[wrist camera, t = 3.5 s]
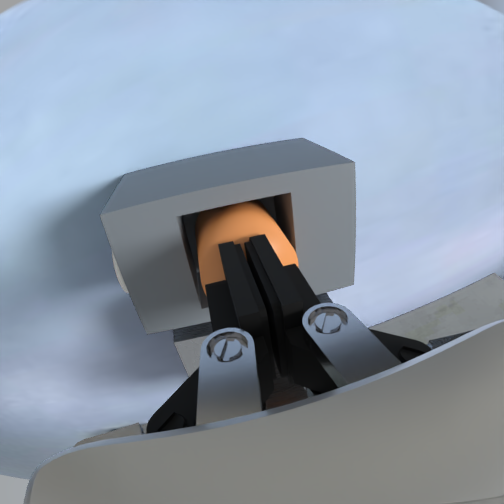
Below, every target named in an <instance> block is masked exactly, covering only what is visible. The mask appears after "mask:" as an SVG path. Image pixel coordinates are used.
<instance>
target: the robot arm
mask: <svg viewBox="0 0 504 504" xmlns="http://www.w3.org/2000/svg"><path fill="white" fill-rule="evenodd" d="M244 245H245V251H246V257H247V260H246V257H245V255H244V252H243V250H242V247H241V245H240V244H236V245H234V242H233V241H231V242H226V243H222V244H218V247H219V252H220V256H221V261H222V265H223V270H224V274H225V279H226V280H223V281H218V282H214V283H210V284H205V289H206V295H207V301H208V307H209V313H210V319H211V324H212V330H213V333H212V334H210V335H209V336H208V337H207V338H206V339H205V340H204V342H203V343H202V346H201V351H200V365H199V367H198V368H197V369H196V371H195V372H194V373H193V374H192V375H191V376H190V377H189V378H188V379H187V380H186V381H185V382H184V383H183V384H182V385H181V386H180V387H179V388H178V390H177V391H176V392H175V393H174V394H173V395H172V396H171V397H170V398H169V399H168V400H167V401H166V402H165V403H164V404H163V405H162V406H161V407H160V408H159V409H158V410H157V411H156V412H155V413H154V414H153V416H152V417H151V418H150V420H149V421H148V423H147V424H144V425H140V424H139V423H136V424H133V425H130V426H127V427H124V428H120V429H117V430H114V431H111V432H108V433H104V434H101V435H98V436H94V437H91V438H87V439H84V440H82V441H80V442H78V443H77V444H76V445H75V446H74V447H72V448H69V449H67V450H64V451H62V452H60V453H57V454H55V455H53V456H51V457H50V458H48V459H46V460H45V461H43V462H42V463H41V464H40V465H39V466H38V467H37V468H36V469H35V471H34V472H33V474H32V476H31V478H30V480H29V483H28V486H27V490H26V495H25V499H24V504H504V319H502V320H498V321H495V322H492V323H490V324H487V325H485V326H482V327H480V328H478V329H476V330H471V331H467V332H463V333H459V334H455V335H450V336H446V337H442V338H437V339H433V340H429V342H428V344H425V343H423V342H420V341H418V340H414V339H410V338H406V337H401V336H397V335H393V334H389V333H385V332H381V331H377V330H373V329H369V328H367V327H366V326H365V325H364V324H363V323H362V322H361V321H360V320H359V319H358V318H357V317H356V316H355V315H354V314H353V313H352V312H351V311H350V310H349V309H347V308H346V307H344V306H342V305H339V304H335V303H322V304H321V303H320V301H319V300H318V298H317V296H316V295H315V293H314V292H313V290H312V288H311V287H310V285H309V284H308V282H307V281H306V279H305V277H304V276H303V274H302V273H301V271H300V270H299V268H298V266H297V265H296V264H290V265H286V266H283V265H282V263H281V261H280V260H279V258H278V256H277V254H276V253H275V251H274V249H273V247H272V246H271V244H270V242H269V241H268V239H267V237H266V235H265V234H262V235H257V236H253V237H249V242H245V243H244ZM274 360H275V363H276V365H277V368H278V371H279V374H280V376H281V378H283V377H286V376H287V378H288V381H289V383H290V385H293V384H297V385H300V386H303V387H305V391H306V393H307V395H308V397H309V398H307V399H304V400H300V401H297V402H294V403H290V404H287V405H283V406H280V407H276V408H272V409H268V410H267V404H266V401H267V399H268V398H269V396H270V395H271V394H272V392H273V391H274V382H273V380H275V379H277V378H276V371H275V364H274Z"/></svg>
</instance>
